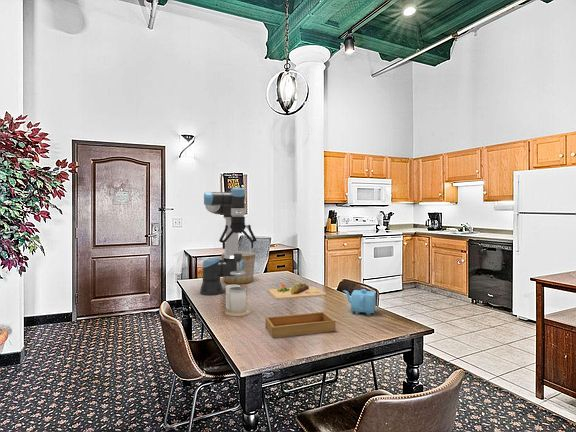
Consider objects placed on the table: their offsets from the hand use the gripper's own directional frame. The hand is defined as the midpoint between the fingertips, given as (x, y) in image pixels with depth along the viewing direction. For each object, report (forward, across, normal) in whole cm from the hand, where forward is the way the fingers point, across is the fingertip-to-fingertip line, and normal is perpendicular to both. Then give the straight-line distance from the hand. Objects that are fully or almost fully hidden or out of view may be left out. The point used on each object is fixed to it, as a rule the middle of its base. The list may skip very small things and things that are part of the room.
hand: (237, 254), depth 202 cm
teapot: (+33, +66, -14) cm, 75 cm away
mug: (+32, +1, +20) cm, 38 cm away
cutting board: (+33, +44, +36) cm, 66 cm away
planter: (+32, +10, +82) cm, 89 cm away
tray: (+33, +26, -33) cm, 54 cm away
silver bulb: (+11, 0, 0) cm, 11 cm away
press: (+32, 0, +1) cm, 32 cm away
